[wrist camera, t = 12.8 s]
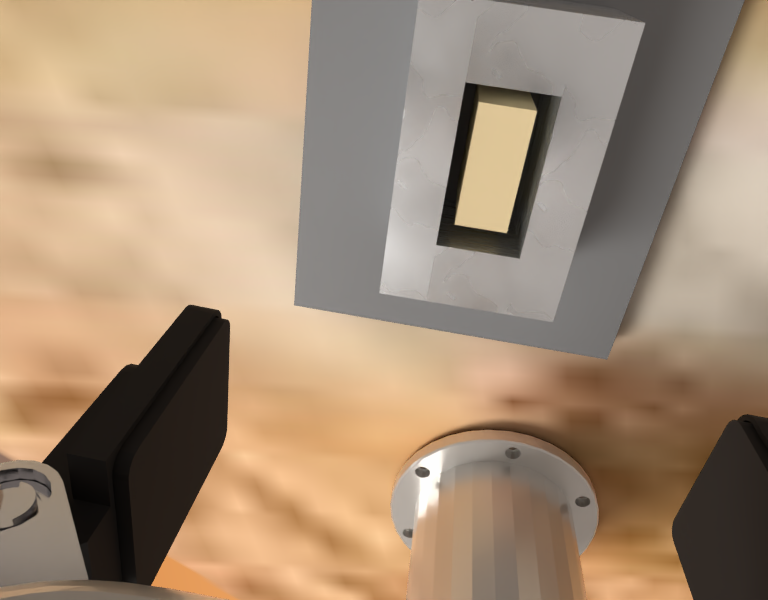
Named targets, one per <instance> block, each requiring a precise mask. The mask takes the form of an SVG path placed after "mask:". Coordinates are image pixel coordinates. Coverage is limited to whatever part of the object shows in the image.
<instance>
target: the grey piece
mask: <svg viewBox="0 0 768 600" xmlns="http://www.w3.org/2000/svg"><path fill="white" fill-rule="evenodd" d="M418 1H419V0H312V10H311V27H310V44H309V61H308V78H307V95H306V112H305V130H304V147H303V164H302V181H301V198H300V215H299V233H298V250H297V267H296V284H295V301H294V305H296V306H302V307H307V308H313V309H319V310H325V311H330V312H336V313H342V314H348V315H353V316H359V317H365V318H371V319H377V320H382V321H388V322H394V323H400V324H405V325H411V326H417V327H423V328H428V329H434V330H440V331H446V332H451V333H457V334H463V335H469V336H475V337H480V338H486V339H492V340H498V341H503V342H509V343H515V344H521V345H526V346H532V347H538V348H544V349H549V350H555V351H561V352H567V353H573V354H578V355H584V356H590V357H596V358H601V359H608V356H609V353H610V351H611V348H612V346H613V343H614V340H615V338H616V335H617V332H618V330H619V327H620V325H621V322H622V319H623V317H624V314H625V312H626V309H627V306H628V304H629V301H630V298H631V296H632V293H633V291H634V288H635V285H636V283H637V280H638V278H639V275H640V272H641V270H642V267H643V265H644V262H645V259H646V257H647V254H648V251H649V249H650V246H651V244H652V241H653V238H654V236H655V233H656V231H657V228H658V225H659V223H660V220H661V217H662V215H663V212H664V210H665V207H666V204H667V202H668V199H669V197H670V194H671V191H672V189H673V186H674V184H675V181H676V178H677V176H678V173H679V170H680V168H681V165H682V163H683V160H684V157H685V155H686V152H687V150H688V147H689V144H690V142H691V139H692V136H693V134H694V131H695V129H696V126H697V123H698V121H699V118H700V116H701V113H702V110H703V108H704V105H705V103H706V100H707V97H708V95H709V92H710V89H711V87H712V84H713V82H714V79H715V76H716V74H717V71H718V69H719V66H720V63H721V61H722V58H723V55H724V53H725V50H726V48H727V45H728V42H729V40H730V37H731V35H732V32H733V29H734V27H735V24H736V22H737V19H738V16H739V14H740V11H741V8H742V6H743V3H744V1H745V0H560V1H567V2H574V3H581V4H588V5H595V6H602V7H609V8H614V9H617V10H619V11H621V12H623V13H625V14H627V15H630V16H632V17H634V18H636V19H638V20H640V21H642V22H645V26H644V29H643V33H642V36H641V39H640V42H639V46H638V49H637V52H636V55H635V59H634V62H633V65H632V68H631V71H630V75H629V78H628V81H627V84H626V88H625V91H624V94H623V97H622V101H621V104H620V107H619V110H618V113H617V117H616V120H615V123H614V126H613V130H612V133H611V136H610V139H609V143H608V146H607V149H606V152H605V156H604V159H603V162H602V165H601V168H600V172H599V175H598V178H597V181H596V185H595V188H594V191H593V194H592V198H591V201H590V204H589V207H588V210H587V214H586V217H585V220H584V223H583V227H582V230H581V233H580V236H579V240H578V243H577V246H576V249H575V252H574V256H573V259H572V262H571V265H570V269H569V272H568V275H567V278H566V282H565V285H564V288H563V291H562V295H561V298H560V301H559V304H558V307H557V311H556V314H555V317H554V320H553V322H548V321H542V320H536V319H530V318H524V317H518V316H512V315H506V314H500V313H494V312H488V311H482V310H476V309H470V308H464V307H458V306H453V305H447V304H441V303H435V302H429V301H423V300H417V299H411V298H405V297H399V296H393V295H387V294H381V293H379V292H380V284H381V277H382V269H383V262H384V254H385V247H386V239H387V232H388V224H389V217H390V209H391V202H392V195H393V187H394V180H395V172H396V165H397V157H398V150H399V142H400V135H401V127H402V120H403V112H404V105H405V98H406V90H407V83H408V75H409V68H410V60H411V53H412V45H413V38H414V30H415V23H416V15H417V8H418ZM540 95H541V94H540V93H533V92H526V91H520V90H513V89H507V88H500V87H493V86H487V85H480V84H473V83H467V82H465V87H464V93H463V98H462V104H461V109H460V115H459V120H458V126H457V131H456V137H455V143H454V148H453V154H452V159H451V165H450V170H449V176H448V181H447V187H446V193H445V198H444V199H449V200H455V201H456V212H455V225H460V226H466V227H472V228H478V229H484V230H490V231H497V232H503V233H507V231H508V227H509V223H510V218H511V214H512V210H513V206H514V202H515V198H516V194H517V190H518V186H519V182H520V178H521V174H522V170H523V166H524V162H525V158H526V154H527V150H528V146H529V142H530V138H531V134H532V130H533V126H534V122H535V118H536V114H537V107H538V103H539V99H540Z"/></svg>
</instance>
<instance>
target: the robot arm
mask: <svg viewBox="0 0 768 600" xmlns="http://www.w3.org/2000/svg"><path fill="white" fill-rule="evenodd" d="M229 343H230V323H229V321H228V320H226V319H221V313H220V311H219V310H215V309H210V308H205V307H200V306H195V305H188V306H187V307H186V308H185V309H184V310H183V312H182V313H181V314H180V315H179V316H178V318H177V319H176V320H175V321H174V322H173V324H172V325H171V326H170V327H169V329H168V330H167V331H166V332H165V333H164V335H163V336H162V337H161V338H160V340H159V341H158V342H157V343H156V344H155V346H154V347H153V348H152V349H151V351H150V352H149V353H148V354H147V355H146V357H145V358H144V359H143V360H142V361H141V363H140V364H139V365H134V364H129V365H126V366H125V367H124V368H123V369H122V370H121V371H120V372H119V373H118V374H117V375H116V377H115V378H114V379H113V380H112V381H111V382H110V384H109V385H108V386H107V387H106V388H105V390H104V391H103V392H102V393H101V394H100V395H99V397H98V398H97V399H96V400H95V401H94V402H93V404H92V405H91V406H90V407H89V408H88V409H87V411H86V412H85V413H84V414H83V415H82V416H81V418H80V419H79V420H78V421H77V422H76V424H75V425H74V426H73V427H72V428H71V429H70V431H69V432H68V433H67V434H66V435H65V436H64V438H63V439H62V440H61V441H60V442H59V443H58V445H57V446H56V447H55V448H54V449H53V450H52V452H51V453H50V454H49V455H48V456H47V458H46V459H45V460H44V461H43V462H42V463H40V462H37V461H25V460H16V461H10V462H5V463H0V600H227V599H221V598H217V597H212V596H206V595H201V594H195V593H191V592H185V591H180V590H174V589H169V588H162V587H154V586H151V584H152V582H153V581H154V579H155V576H156V574H157V573H158V571H159V569H160V567H161V565H162V563H163V561H164V559H165V557H166V555H167V553H168V551H169V549H170V547H171V545H172V544H173V542H174V540H175V538H176V536H177V534H178V532H179V530H180V528H181V526H182V524H183V522H184V520H185V518H186V516H187V514H188V512H189V510H190V508H191V507H192V505H193V503H194V501H195V499H196V497H197V495H198V493H199V491H200V489H201V487H202V485H203V483H204V481H205V479H206V477H207V475H208V473H209V471H210V470H211V468H212V466H213V464H214V462H215V460H216V458H217V456H218V454H219V452H220V450H221V448H222V446H223V443H224V440H225V437H226V432H227V414H228V379H229ZM391 517H392V521H393V523H394V526H395V529H396V532H397V533H398V535H399V536H400V538H401V539H402V541H403V542H404V544H405V545H406V546H407V547H408V548H409V549H410V550H411V556H410V566H409V575H408V585H407V595H406V600H587V597H586V591H585V585H584V580H583V574H582V568H581V562H580V555H581V554H582V553H583V552H584V551H585V550H586V549H587V548H588V546H589V544H590V543H591V541H592V539H593V538H594V536H595V533H596V530H597V526H598V523H599V507H598V503H597V498H596V493H595V490H594V488H593V485H592V483H591V481H590V478H589V476H588V475H587V474H586V472H585V471H584V470H583V468H582V467H581V466H580V464H578V463H577V462H576V461H575V460H574V459H573V458H572V457H570V456H569V455H568V454H567V453H566V452H564V451H562V450H561V449H559V448H557V447H556V446H554V445H552V444H550V443H548V442H546V441H543V440H541V439H538V438H535V437H533V436H530V435H525V434H521V433H516V432H512V431H501V430H478V431H467V432H462V433H458V434H454V435H449V436H446V437H444V438H442V439H439V440H437V441H434V442H432V443H430V444H428V445H427V446H425V447H424V448H422V449H420V450H419V451H417V452H416V453H415V454H414V455H413V456H412V457H411V458H410V459H409V460H408V461H407V462H406V463H405V464H404V465H403V467H402V468H401V470H400V472H399V473H398V475H397V477H396V480H395V483H394V486H393V490H392V498H391ZM672 537H673V541H674V544H675V547H676V550H677V553H678V556H679V559H680V562H681V564H682V567H683V570H684V573H685V576H686V579H687V582H688V585H689V588H690V591H691V594H692V597H693V600H768V418H763V417H758V416H753V415H748V414H747V415H743V416H741V417H740V418H739V419H738V420H732V421H730V422H729V423H728V425H727V426H726V428H725V430H724V431H723V433H722V435H721V437H720V438H719V440H718V442H717V444H716V446H715V447H714V449H713V451H712V453H711V455H710V456H709V458H708V460H707V462H706V463H705V465H704V467H703V469H702V471H701V472H700V474H699V476H698V478H697V479H696V481H695V483H694V485H693V487H692V488H691V490H690V492H689V494H688V496H687V497H686V499H685V501H684V503H683V504H682V506H681V508H680V510H679V512H678V513H677V515H676V517H675V519H674V521H673V526H672Z"/></svg>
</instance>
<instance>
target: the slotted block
mask: <svg viewBox="0 0 768 600" xmlns="http://www.w3.org/2000/svg"><path fill="white" fill-rule="evenodd" d="M644 26H645V22H642V21H640V20H638V19H636V18H634V17H632V16H630V15H627V14H625V13H623V12H621V11H619V10H617V9H614V8H609V7H602V6H595V5H588V4H581V3H574V2H567V1H560V0H419V1H418V8H417V15H416V23H415V30H414V38H413V45H412V53H411V60H410V68H409V75H408V83H407V90H406V98H405V105H404V112H403V120H402V127H401V135H400V142H399V150H398V157H397V165H396V172H395V180H394V187H393V195H392V202H391V209H390V217H389V224H388V232H387V239H386V247H385V254H384V262H383V269H382V277H381V284H380V292H379V293H381V294H387V295H393V296H399V297H405V298H411V299H417V300H423V301H429V302H435V303H441V304H447V305H453V306H458V307H464V308H470V309H476V310H482V311H488V312H494V313H500V314H506V315H512V316H518V317H524V318H530V319H536V320H542V321H548V322H553V320H554V317H555V314H556V311H557V307H558V304H559V301H560V298H561V295H562V291H563V288H564V285H565V282H566V278H567V275H568V272H569V269H570V265H571V262H572V259H573V256H574V252H575V249H576V246H577V243H578V240H579V236H580V233H581V230H582V227H583V223H584V220H585V217H586V214H587V210H588V207H589V204H590V201H591V198H592V194H593V191H594V188H595V185H596V181H597V178H598V175H599V172H600V168H601V165H602V162H603V159H604V156H605V152H606V149H607V146H608V143H609V139H610V136H611V133H612V130H613V126H614V123H615V120H616V117H617V113H618V110H619V107H620V104H621V101H622V97H623V94H624V91H625V88H626V84H627V81H628V78H629V75H630V71H631V68H632V65H633V62H634V59H635V55H636V52H637V49H638V46H639V42H640V39H641V36H642V33H643V29H644ZM465 82H467V83H473V84H480V85H487V86H493V87H500V88H507V89H513V90H520V91H526V92H533V93H540V94H541V95H540V99H539V103H538V107H537V114H536V118H535V122H534V126H533V130H532V134H531V138H530V142H529V146H528V150H527V154H526V158H525V162H524V166H523V170H522V174H521V178H520V182H519V186H518V190H517V194H516V198H515V202H514V206H513V210H512V214H511V218H510V223H509V227H508V231H507V233H503V232H497V231H490V230H484V229H478V228H472V227H466V226H460V225H455V212H456V201H455V200H449V199H444V198H445V193H446V187H447V181H448V176H449V170H450V165H451V159H452V154H453V148H454V143H455V137H456V131H457V126H458V120H459V115H460V109H461V104H462V98H463V93H464V87H465Z"/></svg>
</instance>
